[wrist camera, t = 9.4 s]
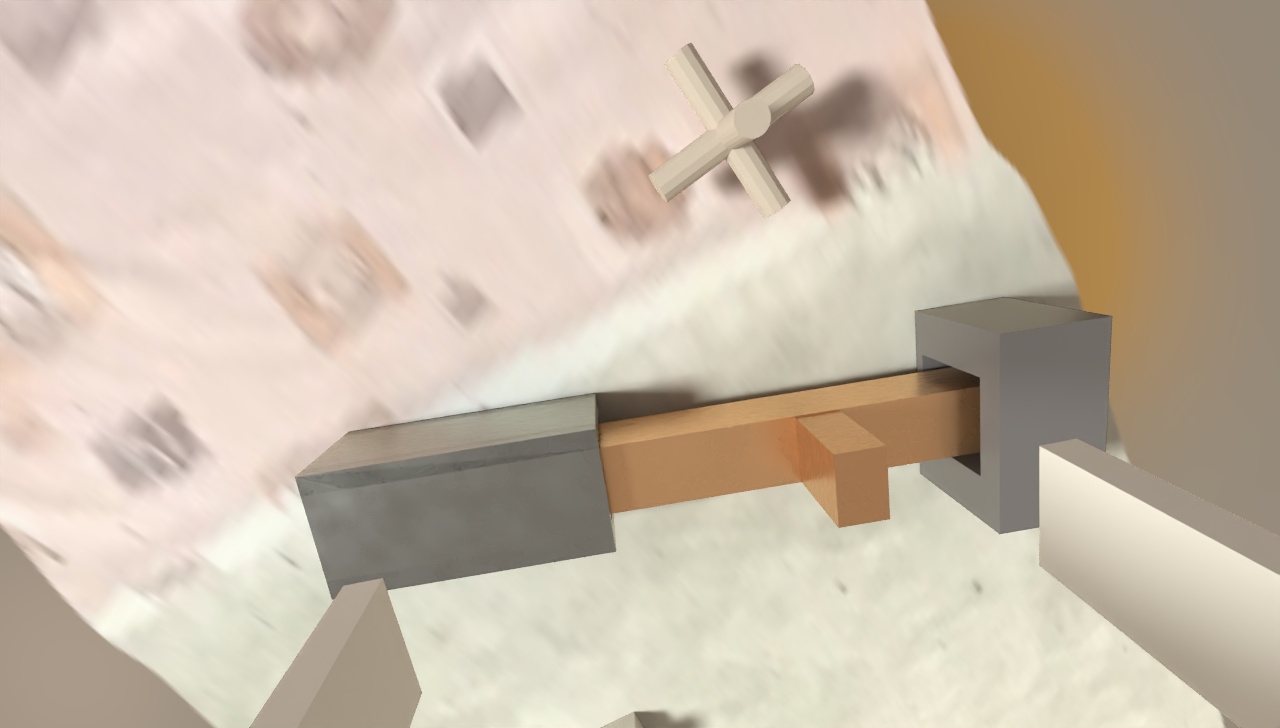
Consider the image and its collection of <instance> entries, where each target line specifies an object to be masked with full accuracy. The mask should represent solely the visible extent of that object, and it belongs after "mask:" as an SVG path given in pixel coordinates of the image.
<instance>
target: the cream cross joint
mask: <svg viewBox="0 0 1280 728" xmlns="http://www.w3.org/2000/svg"><path fill="white" fill-rule="evenodd" d="M665 66H666V68H667V69H668V71H669V72H670V74H671V75H672V77H673V78H674V80H675V82H676V83H677V85H678V86H679V88H680V89H681V91H682V92H683V94H684V95H685V97H686V99H687V100H688V102H689V103H690V105H691V106H692V108H693V109H694V111H695V112H696V114H697V116H698V117H699V119H700V120H701V122H702V123H703V125H704V126H705V128H706V129H707V131H706V132H705V133H704V134H703V135H701V136H700V137H699V138H697V139H696V140H695V141H693V142H692V143H691V144H689V145H688V146H687V147H685V148H684V149H683V150H681V151H680V152H679V153H677V154H676V155H675V156H673V157H672V158H671V159H670V160H668V161H667V162H666V163H664V164H663V165H662V166H660V167H659V168H658V169H656V170H655V171H654V172H652V173H651V174H650V175H649V178H650V180H651V182H652V184H653V185H654V187H655V189H656V190H657V191H658V193H659V194H660V195H661V197H662V198H663V199H664V200H665V201H666V202H669V201H670V200H671V199H673V198H674V197H675V196H677V195H678V194H679V193H681V192H682V191H683V190H685V189H686V188H687V187H689V186H690V185H691V184H693V183H694V182H695V181H697V180H698V179H699V178H701V177H702V176H703V175H705V174H706V173H707V172H709V171H710V170H711V169H713V168H714V167H715V166H717V165H718V164H719V163H721V162H722V161H723V160H725V159H726V160H727V162H728V163H729V165H730V166H731V168H732V170H733V171H734V173H735V174H736V176H737V177H738V179H739V180H740V182H741V183H742V185H743V187H744V188H745V190H746V191H747V193H748V194H749V196H750V197H751V199H752V200H753V202H754V204H755V205H756V207H757V208H758V210H759V211H760V213H761V214H762V216H763V217H764V218H766V217H769V216H771V215H772V214H774V213H776V212H777V211H779V210H780V209H782V208H783V207H784V206H785V205H787V204H788V203H789V202H790V198H789V197H788V195H787V194H786V192H785V190H784V189H783V187H782V186H781V184H780V182H779V181H778V179H777V178H776V176H775V175H774V173H773V171H772V170H771V168H770V167H769V165H768V163H767V162H766V160H765V159H764V157H763V156H762V154H761V152H760V151H759V149H758V148H757V146H756V144H755V143H754V141H753V140H754V139H756V138H758V137H760V136H762V135H763V134H764V133H765V132H766V131H767V129H768V128H769V126H770V125H771V124H773V123H774V122H775V121H777V120H778V119H779V118H781V117H782V116H783V115H785V114H786V113H787V112H789V111H790V110H791V109H793V108H794V107H795V106H797V105H798V104H799V103H801V102H802V101H803V100H805V99H806V98H807V97H809V96H810V95H811V94H813V92H814V83H813V81H812V79H811V76H810V74H809V73H808V72H807V70H806V69H805V68H804V67H803V66H801V65H800V64H795V65H794V66H793V67H791V68H790V69H789V70H787V71H786V72H785V73H783V74H782V75H781V76H779V77H778V78H777V79H775V80H774V81H773V82H771V83H770V84H769V85H767V86H766V87H765V88H763V89H762V90H761V91H759V92H758V93H757V94H756V95H754V96H753V97H752V98H750V99H746V100H744V101H743V102H741V103H740V104H739V105H738V106H736V107H735V108H734V109H733V108H732V106H731V105H730V103H729V102H728V100H727V98H726V97H725V95H724V94H723V92H722V90H721V89H720V87H719V86H718V84H717V82H716V81H715V79H714V78H713V76H712V75H711V73H710V71H709V70H708V68H707V67H706V65H705V63H704V62H703V60H702V59H701V57H700V56H699V54H698V52H697V51H696V49H695V48H694V46H693V44H692V43H689V44H687V45H686V46H685V47H683V48H682V49H680V50H679V51H678V52H677V53H676V54H674V55H673V56H672V57H671V58H670V59H669V60H668V61H667V62H666V63H665Z"/></svg>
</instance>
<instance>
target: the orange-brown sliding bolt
mask: <svg viewBox="0 0 1280 728" xmlns="http://www.w3.org/2000/svg"><path fill="white" fill-rule="evenodd" d="M598 442H599V448H600V454H601V460H602V466H603V472H604V478H605V484H606V490H607V495H608V501H609V507H610V513H611V514H612V513H618V512H624V511H630V510H636V509H642V508H648V507H654V506H660V505H666V504H672V503H678V502H684V501H690V500H696V499H702V498H708V497H714V496H720V495H726V494H732V493H738V492H744V491H750V490H756V489H762V488H768V487H774V486H780V485H786V484H792V483H798V482H802V483H803V484H804V485H805V487H806V488H807V489H808V490H809V492H810V493H811V494H812V495H813V496H814V498H815V499H816V500H817V501H818V503H819V504H820V505H821V506H822V508H823V509H824V510H825V511H826V513H827V514H828V515H829V516H830V518H831V519H832V520H833V521H834V522H835V524H836V525H837V526H838V527H839V528H840V527H846V526H852V525H858V524H864V523H870V522H876V521H881V520H887V519H890V509H889V488H888V467H894V466H900V465H906V464H912V463H918V462H924V461H930V460H936V459H942V458H948V457H954V456H960V455H966V454H972V453H978V452H980V377H977V376H975V375H972V374H970V373H967V372H964V371H962V370H959V369H957V368H954V367H950V368H943V369H937V370H931V371H925V372H918V373H912V374H906V375H900V376H893V377H887V378H881V379H875V380H868V381H862V382H856V383H850V384H843V385H837V386H831V387H825V388H818V389H812V390H806V391H800V392H793V393H787V394H781V395H775V396H769V397H762V398H756V399H750V400H744V401H737V402H731V403H725V404H719V405H712V406H706V407H700V408H694V409H687V410H681V411H675V412H669V413H662V414H656V415H650V416H644V417H637V418H631V419H625V420H619V421H612V422H606V423H600V424H598Z"/></svg>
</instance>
